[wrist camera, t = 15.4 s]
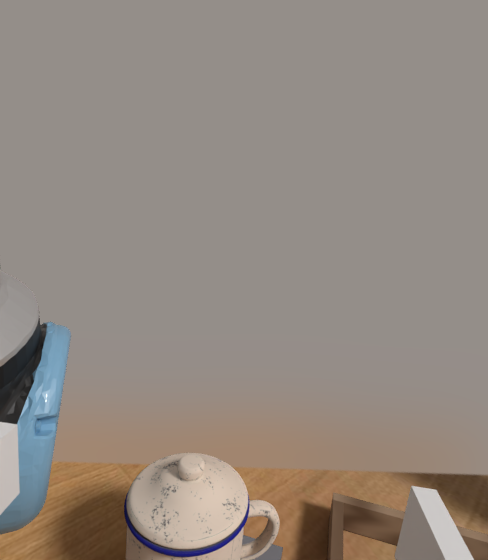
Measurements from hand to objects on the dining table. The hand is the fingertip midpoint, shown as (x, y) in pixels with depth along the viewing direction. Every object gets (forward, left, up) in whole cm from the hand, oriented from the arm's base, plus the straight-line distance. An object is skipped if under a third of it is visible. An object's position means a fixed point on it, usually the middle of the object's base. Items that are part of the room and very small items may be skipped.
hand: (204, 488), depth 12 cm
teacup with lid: (-4, +13, -21) cm, 25 cm away
